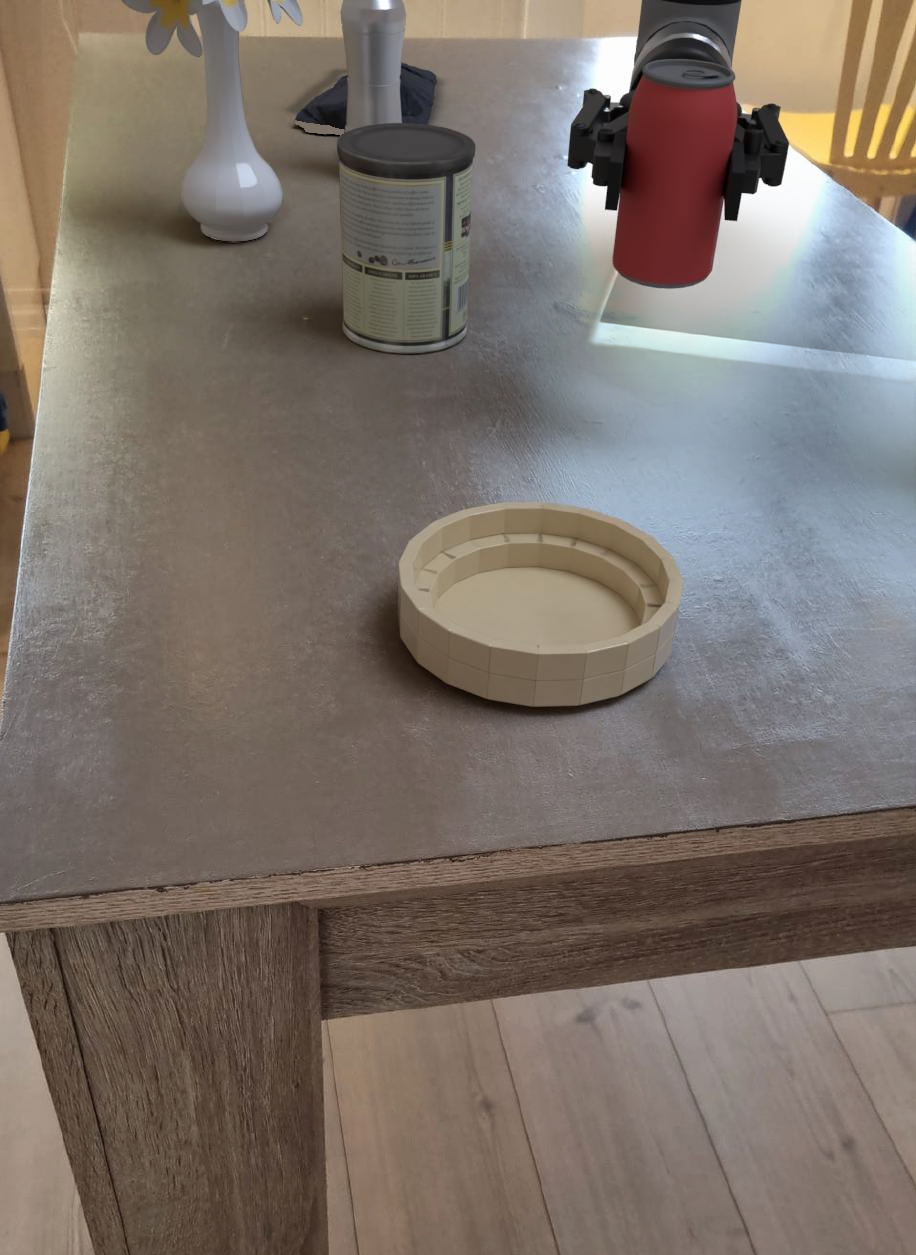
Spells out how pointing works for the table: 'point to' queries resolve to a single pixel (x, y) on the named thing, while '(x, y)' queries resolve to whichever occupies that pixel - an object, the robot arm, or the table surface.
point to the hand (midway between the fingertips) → (674, 191)
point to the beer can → (675, 173)
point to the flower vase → (220, 117)
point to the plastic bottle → (373, 60)
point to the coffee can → (405, 235)
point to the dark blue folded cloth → (413, 98)
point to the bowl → (538, 603)
